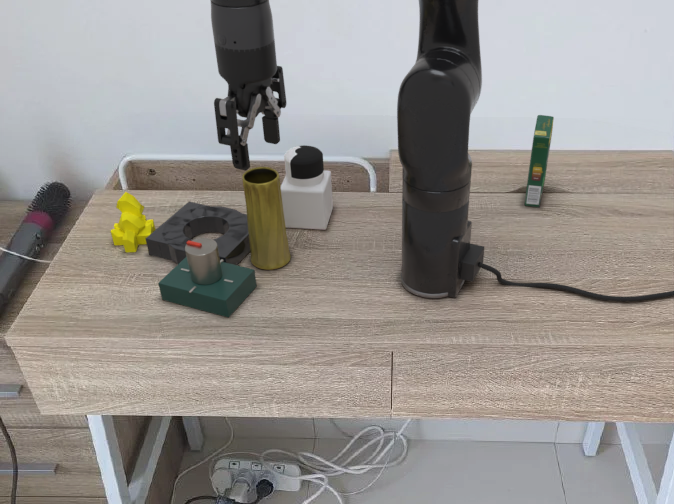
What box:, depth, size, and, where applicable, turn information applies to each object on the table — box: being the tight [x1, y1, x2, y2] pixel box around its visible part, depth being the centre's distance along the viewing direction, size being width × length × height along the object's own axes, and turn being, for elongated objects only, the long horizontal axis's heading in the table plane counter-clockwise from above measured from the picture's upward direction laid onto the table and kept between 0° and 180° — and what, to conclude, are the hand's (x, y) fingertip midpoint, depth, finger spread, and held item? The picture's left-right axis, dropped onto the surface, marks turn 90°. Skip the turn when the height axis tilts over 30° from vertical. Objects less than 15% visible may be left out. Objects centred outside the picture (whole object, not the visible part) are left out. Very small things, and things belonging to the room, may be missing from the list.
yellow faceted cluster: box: [110, 191, 157, 254], centre depth 122 cm, size 6×8×8 cm
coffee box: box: [524, 114, 555, 208], centre depth 131 cm, size 8×3×13 cm, turn 167°
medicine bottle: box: [280, 144, 334, 231], centre depth 125 cm, size 7×7×12 cm
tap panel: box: [157, 257, 258, 318], centre depth 112 cm, size 11×9×3 cm
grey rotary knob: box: [185, 237, 222, 285], centre depth 110 cm, size 4×4×5 cm
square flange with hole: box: [145, 201, 251, 265], centre depth 122 cm, size 14×13×3 cm
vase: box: [241, 166, 292, 271], centre depth 115 cm, size 6×6×14 cm
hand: (257, 155), depth 109 cm, fingers open, 8 cm apart
